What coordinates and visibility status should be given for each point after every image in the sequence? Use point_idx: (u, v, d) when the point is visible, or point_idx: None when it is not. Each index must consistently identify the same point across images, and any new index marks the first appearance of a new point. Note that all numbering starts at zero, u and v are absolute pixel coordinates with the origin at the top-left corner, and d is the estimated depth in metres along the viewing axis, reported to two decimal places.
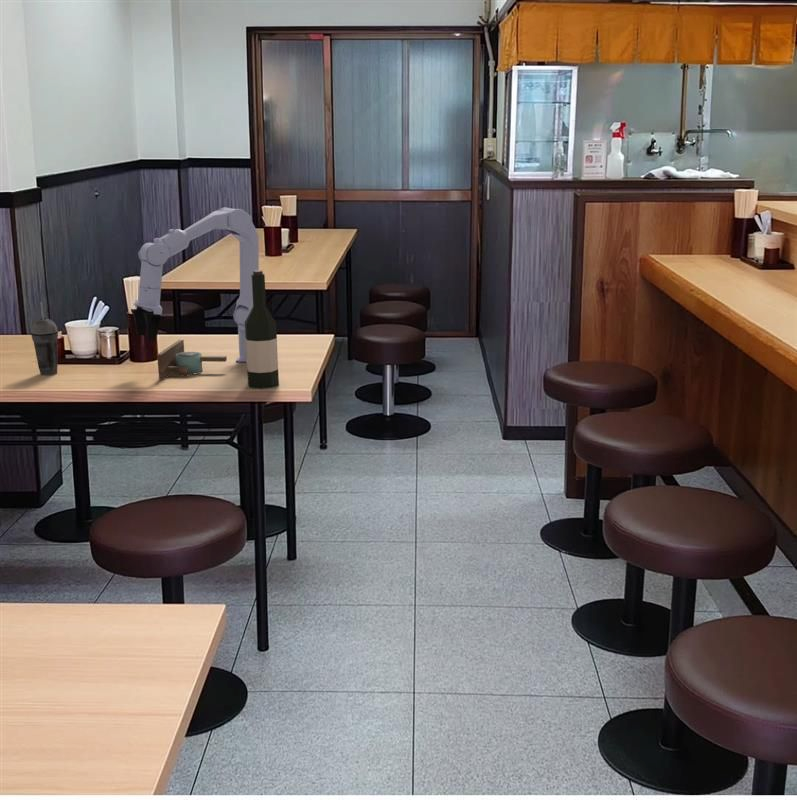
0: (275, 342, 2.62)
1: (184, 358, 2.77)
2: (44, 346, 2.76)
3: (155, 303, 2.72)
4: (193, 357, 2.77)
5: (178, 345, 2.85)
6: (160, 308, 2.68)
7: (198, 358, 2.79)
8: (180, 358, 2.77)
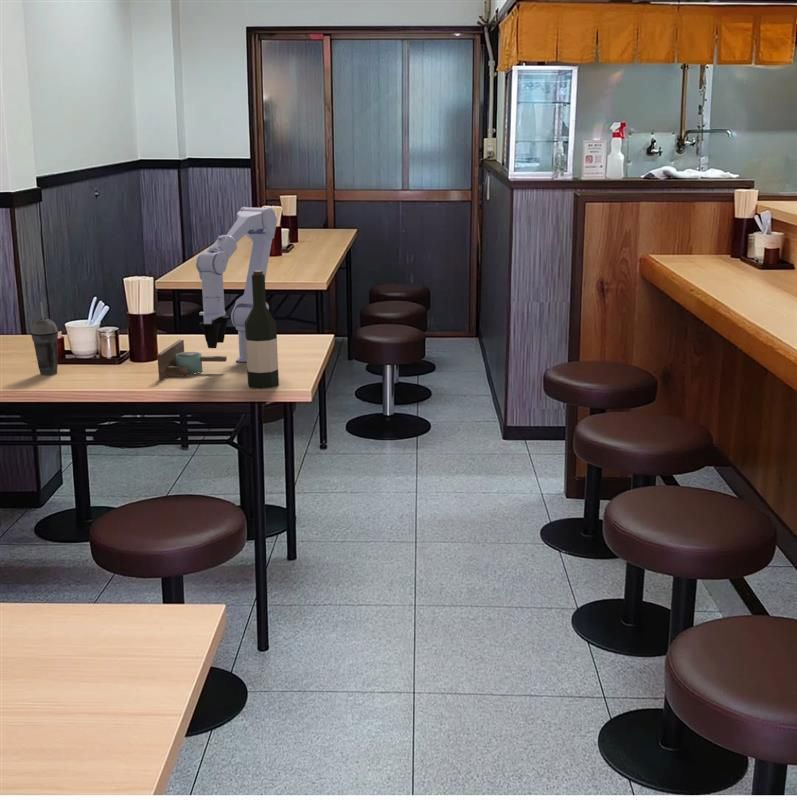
0: (275, 342, 2.62)
1: (184, 358, 2.77)
2: (44, 346, 2.76)
3: (214, 312, 2.74)
4: (193, 357, 2.77)
5: (178, 345, 2.85)
6: (208, 317, 2.69)
7: (198, 358, 2.79)
8: (180, 358, 2.77)
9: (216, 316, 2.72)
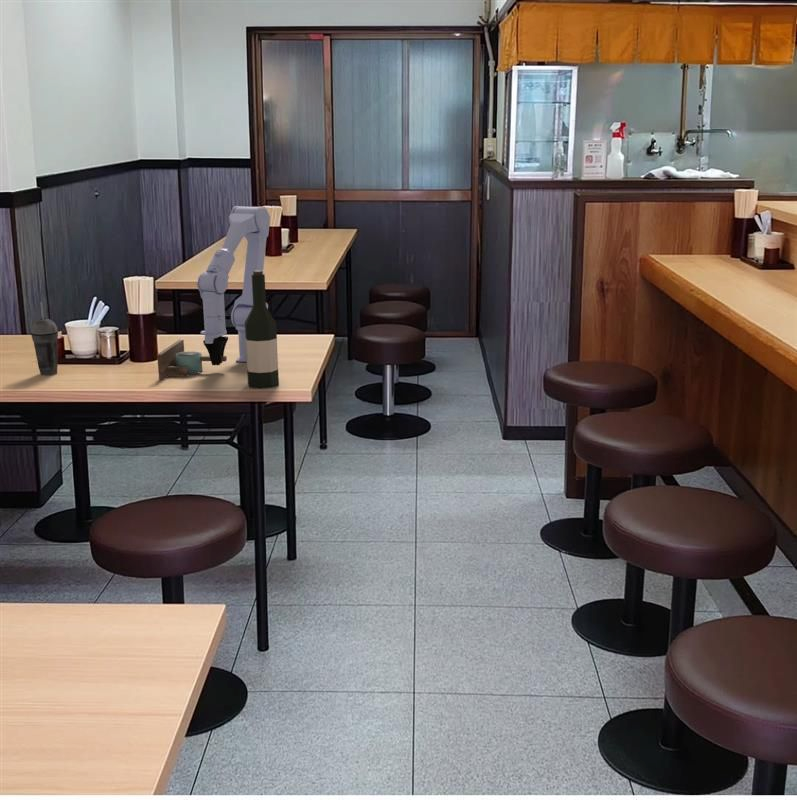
0: (275, 342, 2.62)
1: (184, 358, 2.77)
2: (44, 346, 2.76)
3: (215, 331, 2.75)
4: (193, 357, 2.77)
5: (178, 345, 2.85)
6: (209, 337, 2.71)
7: (198, 358, 2.79)
8: (180, 358, 2.77)
9: (217, 335, 2.74)
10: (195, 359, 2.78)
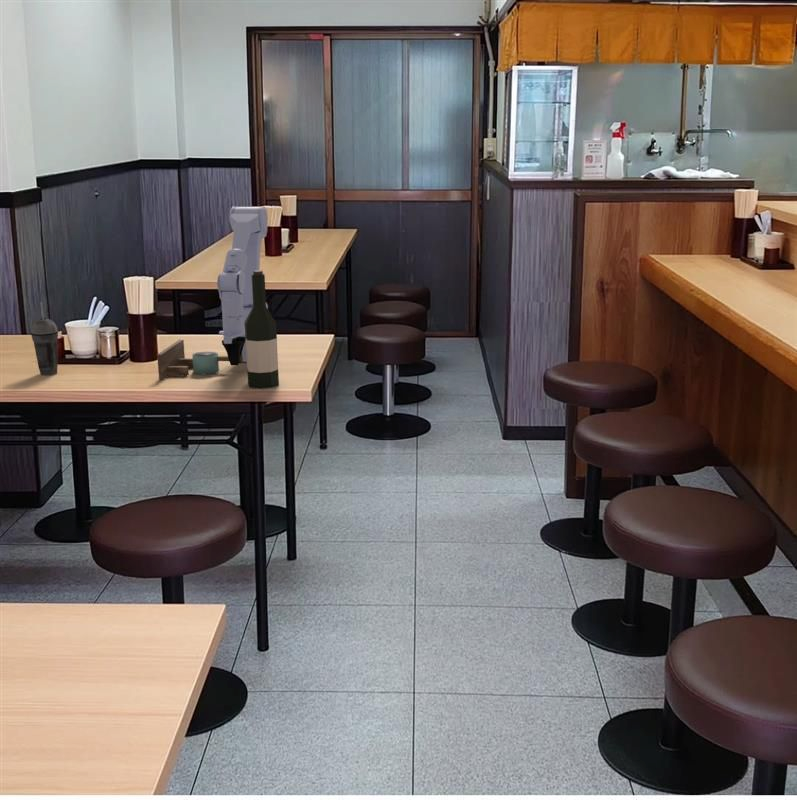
0: (275, 342, 2.62)
1: (201, 358, 2.76)
2: (44, 346, 2.76)
3: (234, 331, 2.74)
4: (210, 357, 2.77)
5: (178, 345, 2.85)
6: (228, 337, 2.70)
7: (215, 358, 2.78)
8: (197, 358, 2.77)
9: (236, 336, 2.73)
10: (212, 359, 2.77)
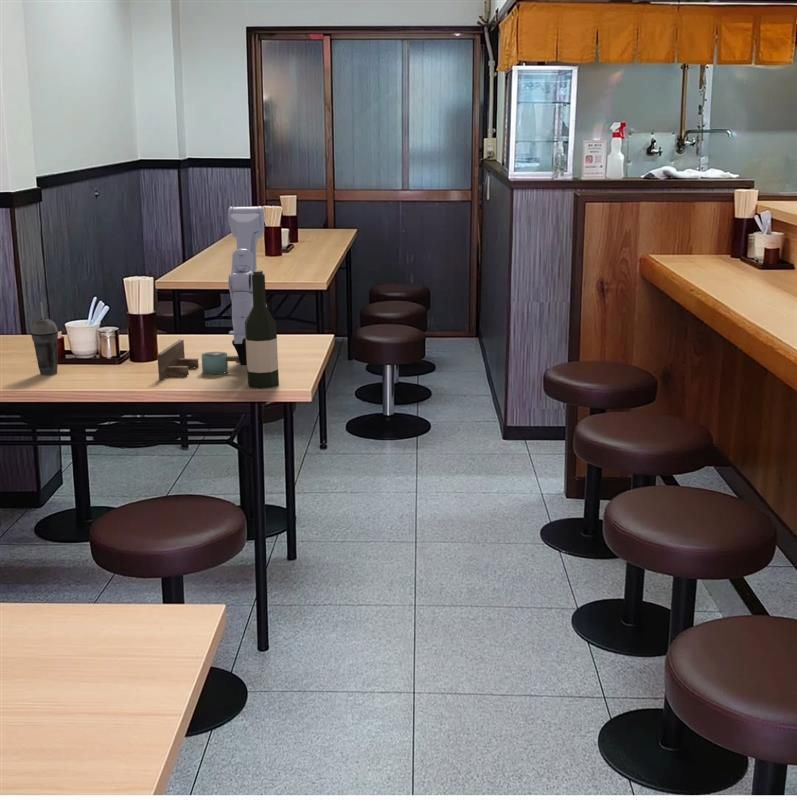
0: (275, 342, 2.62)
1: (210, 358, 2.76)
2: (44, 346, 2.76)
3: (244, 331, 2.74)
4: (219, 357, 2.77)
5: (178, 345, 2.85)
6: (239, 337, 2.70)
7: (224, 358, 2.78)
8: (206, 358, 2.77)
9: None
10: (221, 359, 2.77)
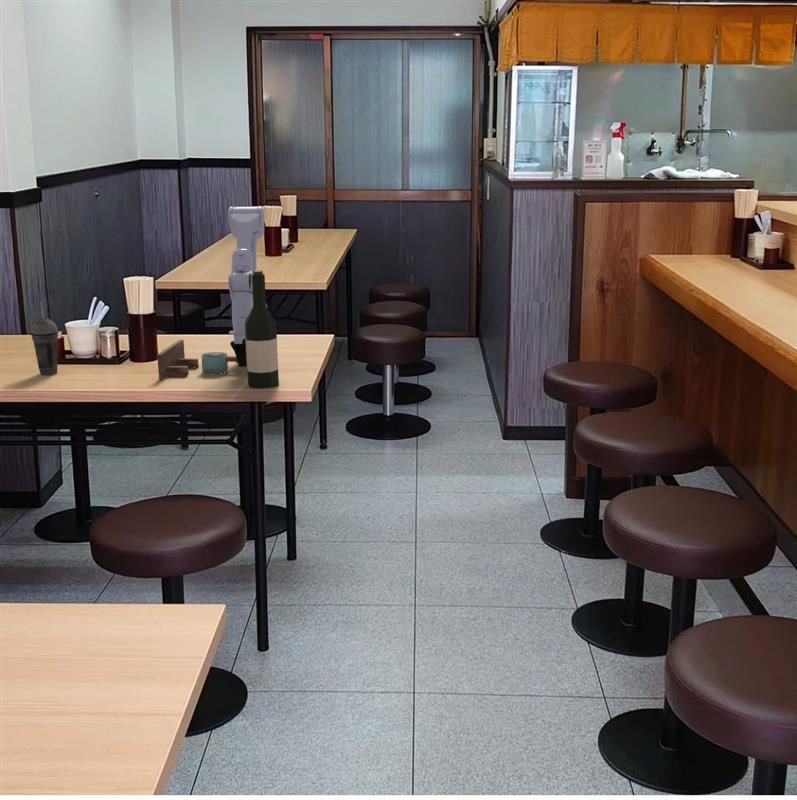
0: (275, 342, 2.62)
1: (210, 358, 2.76)
2: (44, 346, 2.76)
3: (244, 331, 2.74)
4: (219, 357, 2.77)
5: (178, 345, 2.85)
6: (239, 337, 2.70)
7: (224, 358, 2.78)
8: (206, 358, 2.77)
9: None
10: (221, 360, 2.77)
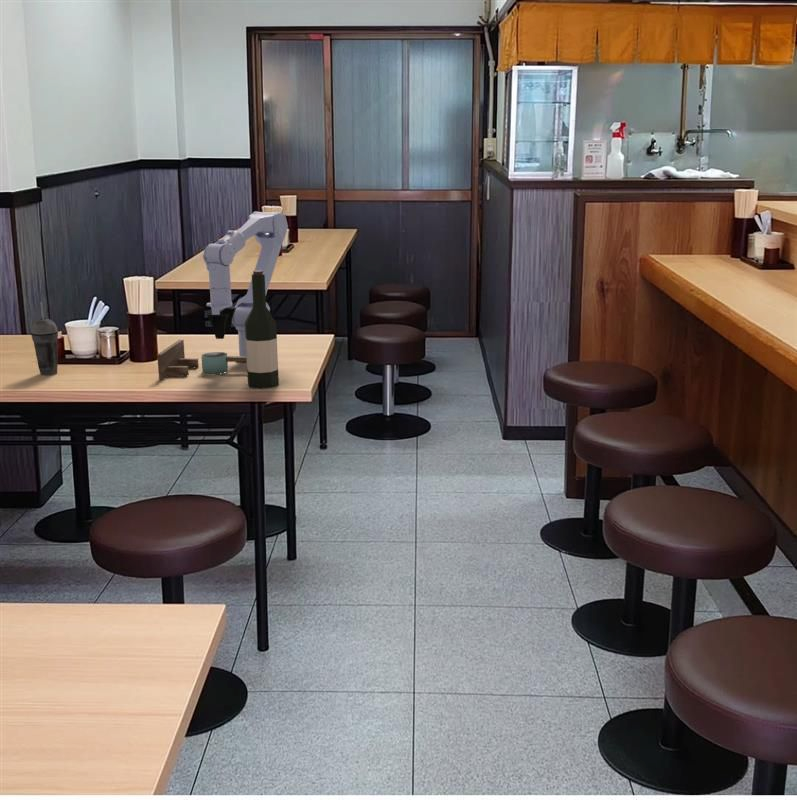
0: (275, 342, 2.62)
1: (210, 358, 2.76)
2: (44, 346, 2.76)
3: (221, 303, 2.77)
4: (219, 357, 2.77)
5: (178, 345, 2.85)
6: (216, 308, 2.73)
7: (224, 358, 2.78)
8: (206, 358, 2.77)
9: (224, 307, 2.76)
10: (221, 359, 2.77)
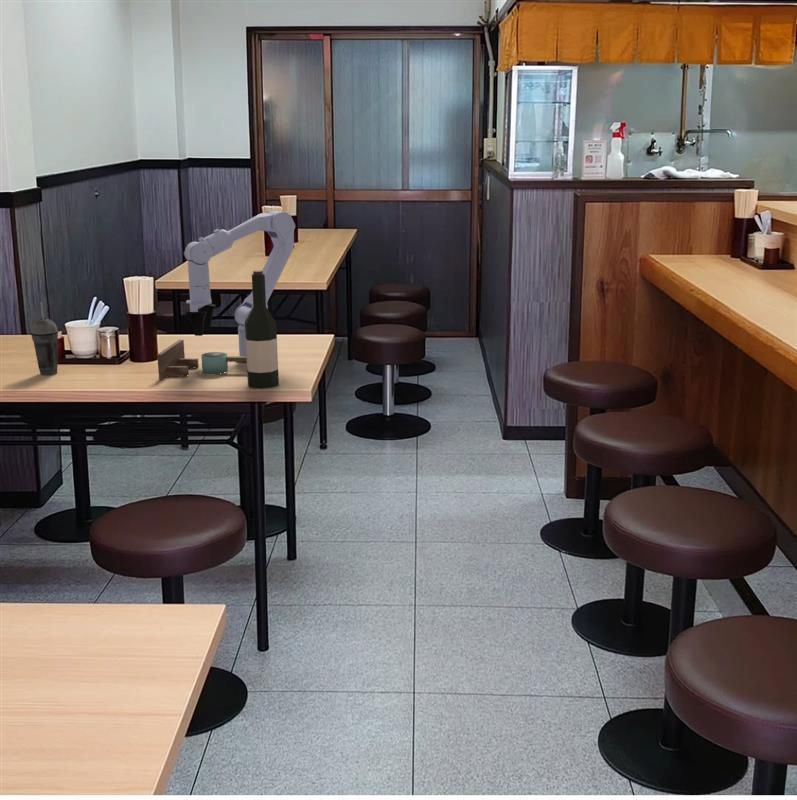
0: (275, 342, 2.62)
1: (210, 358, 2.76)
2: (44, 346, 2.76)
3: (200, 300, 2.81)
4: (219, 357, 2.77)
5: (178, 345, 2.85)
6: (194, 306, 2.77)
7: (224, 358, 2.78)
8: (206, 358, 2.77)
9: (202, 304, 2.80)
10: (221, 359, 2.77)
